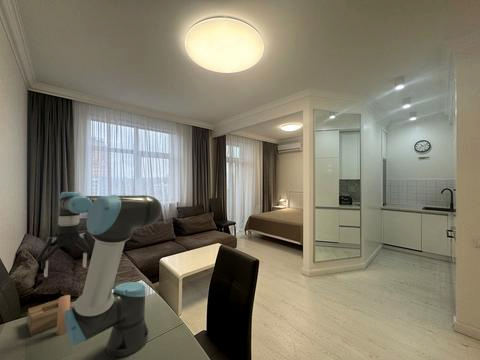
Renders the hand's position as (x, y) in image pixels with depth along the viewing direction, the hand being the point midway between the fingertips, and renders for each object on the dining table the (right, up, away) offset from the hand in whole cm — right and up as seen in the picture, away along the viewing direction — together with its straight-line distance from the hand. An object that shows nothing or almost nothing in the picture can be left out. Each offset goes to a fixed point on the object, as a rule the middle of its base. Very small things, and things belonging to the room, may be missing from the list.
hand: (66, 271), depth 90 cm
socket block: (-12, -27, +5) cm, 30 cm away
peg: (0, -26, -2) cm, 26 cm away
